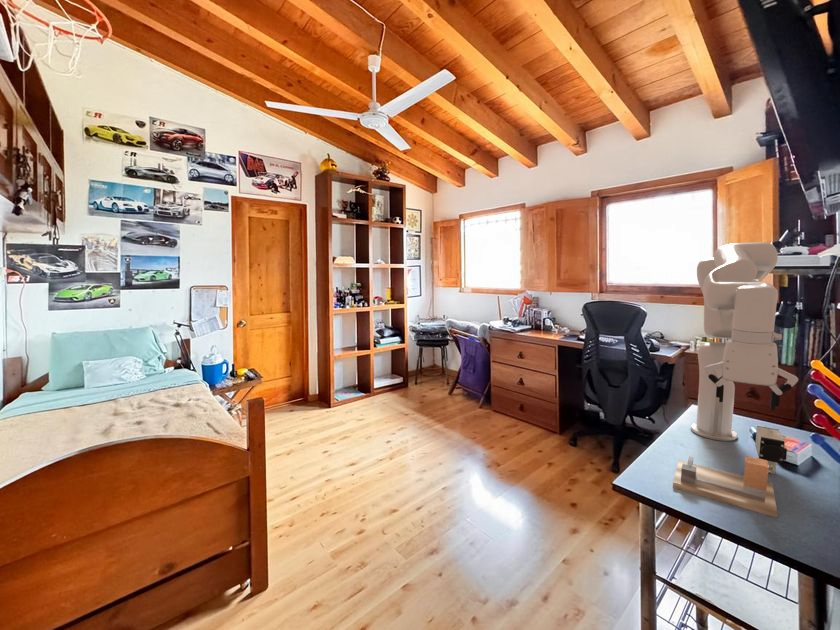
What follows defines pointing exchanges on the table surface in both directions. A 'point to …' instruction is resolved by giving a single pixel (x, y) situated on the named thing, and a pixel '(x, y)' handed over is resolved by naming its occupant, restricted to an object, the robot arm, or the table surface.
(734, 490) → the plate
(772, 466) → the pneumatic valve
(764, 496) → the block
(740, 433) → the table surface
